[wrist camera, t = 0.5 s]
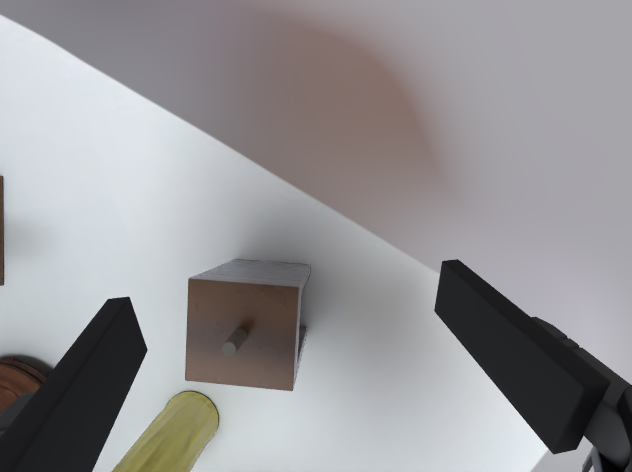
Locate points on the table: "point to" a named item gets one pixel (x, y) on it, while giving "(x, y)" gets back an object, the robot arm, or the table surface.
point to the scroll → (17, 381)
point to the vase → (173, 436)
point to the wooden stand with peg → (246, 324)
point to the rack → (1, 232)
